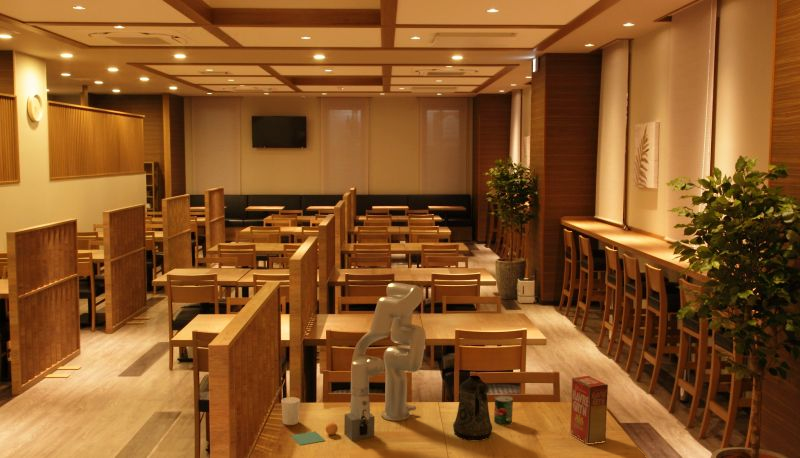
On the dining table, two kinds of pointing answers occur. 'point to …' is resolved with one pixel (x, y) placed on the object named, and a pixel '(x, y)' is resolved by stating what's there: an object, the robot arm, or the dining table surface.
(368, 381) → the robot arm
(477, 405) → the beer stein
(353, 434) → the grey rectangular box
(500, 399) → the canned tomato
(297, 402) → the white cup
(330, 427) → the ball
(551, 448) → the dining table surface
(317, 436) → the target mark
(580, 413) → the food packaging
